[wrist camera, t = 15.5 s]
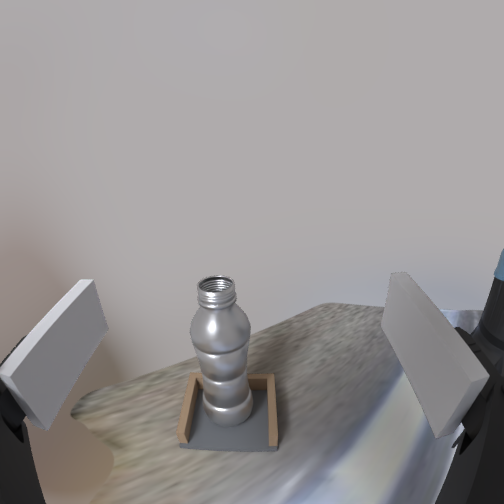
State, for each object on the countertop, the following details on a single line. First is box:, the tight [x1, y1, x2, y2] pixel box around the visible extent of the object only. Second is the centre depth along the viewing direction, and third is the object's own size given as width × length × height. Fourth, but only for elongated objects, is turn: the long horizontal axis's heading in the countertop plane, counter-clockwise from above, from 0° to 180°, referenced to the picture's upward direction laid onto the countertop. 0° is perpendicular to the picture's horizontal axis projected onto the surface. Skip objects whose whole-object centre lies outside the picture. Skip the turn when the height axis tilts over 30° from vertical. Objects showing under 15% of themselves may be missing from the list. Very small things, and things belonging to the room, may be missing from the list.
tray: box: [176, 372, 278, 451], centre depth 36 cm, size 12×12×3 cm
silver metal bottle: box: [190, 275, 253, 427], centre depth 32 cm, size 6×7×20 cm
